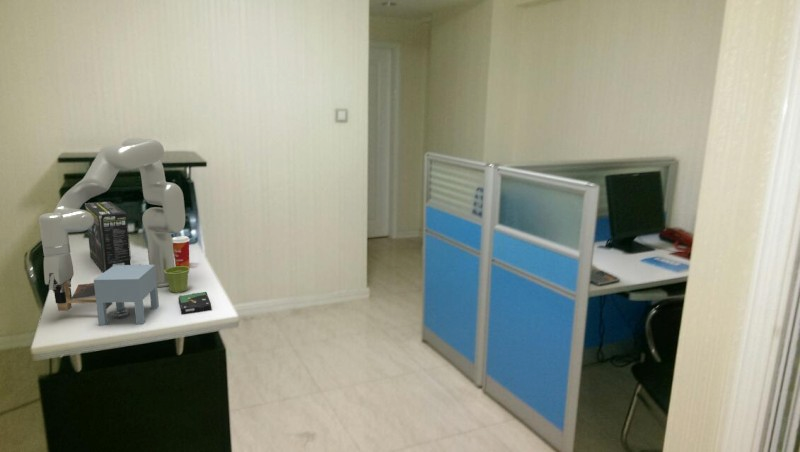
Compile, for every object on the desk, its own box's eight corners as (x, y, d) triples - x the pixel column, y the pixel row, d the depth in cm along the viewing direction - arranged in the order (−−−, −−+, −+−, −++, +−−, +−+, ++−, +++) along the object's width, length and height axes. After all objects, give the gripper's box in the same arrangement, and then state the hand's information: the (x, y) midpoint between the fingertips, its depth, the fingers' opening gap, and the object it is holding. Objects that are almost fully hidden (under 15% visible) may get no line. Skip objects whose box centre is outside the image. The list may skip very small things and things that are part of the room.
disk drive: (212, 311, 189) (206, 297, 202) (211, 304, 188) (206, 291, 201) (181, 316, 184) (177, 301, 197) (181, 309, 184) (177, 295, 196)
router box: (133, 272, 229) (127, 212, 223) (105, 277, 222) (98, 215, 216) (115, 253, 256) (109, 200, 250) (89, 257, 249) (83, 202, 243)
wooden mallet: (66, 305, 183) (62, 278, 181) (112, 303, 185) (109, 277, 183) (54, 313, 176) (50, 285, 173) (102, 312, 177) (98, 285, 175)
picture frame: (72, 304, 193) (137, 296, 202) (71, 298, 193) (136, 290, 201) (79, 290, 208) (139, 283, 217) (78, 284, 208) (138, 277, 216)
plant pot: (164, 295, 202) (162, 274, 200) (167, 287, 211) (166, 266, 209) (189, 293, 205) (188, 272, 203) (192, 285, 213) (191, 265, 211)
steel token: (112, 315, 183) (111, 311, 183) (128, 312, 186) (127, 308, 185) (114, 319, 179) (113, 315, 179) (130, 316, 182) (129, 311, 181)
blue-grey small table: (116, 307, 189) (112, 265, 186) (158, 306, 191) (155, 264, 187) (96, 325, 174) (91, 279, 170) (142, 324, 176) (138, 279, 172)
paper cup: (170, 267, 236) (168, 237, 233) (187, 264, 241) (185, 234, 238) (177, 271, 231) (175, 241, 228) (194, 268, 236) (192, 238, 233)
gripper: (57, 243, 182) (64, 292, 187) (30, 256, 166) (39, 310, 171) (80, 243, 183) (86, 292, 187) (55, 256, 167) (63, 309, 172)
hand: (63, 300), depth 179 cm, fingers closed on wooden mallet, 3 cm apart
